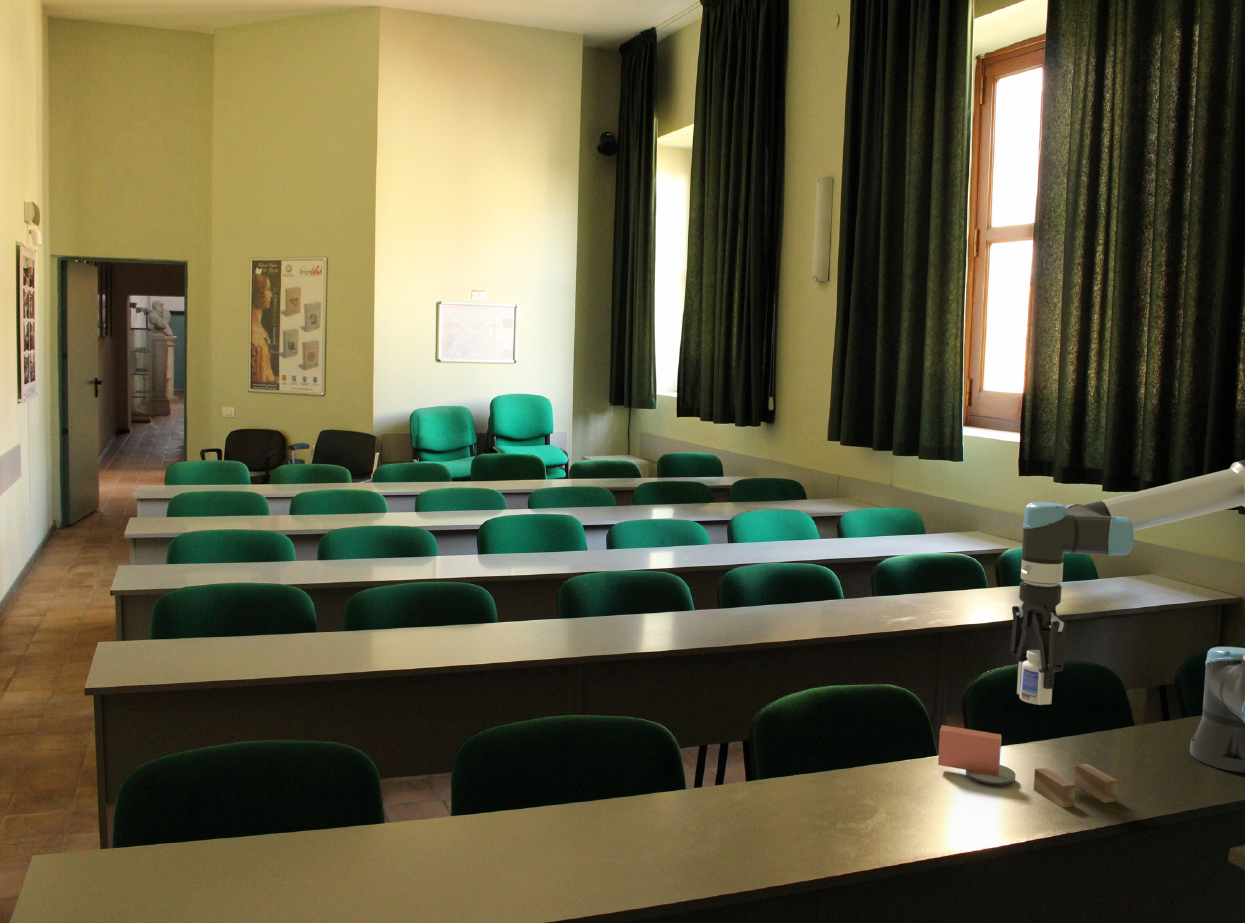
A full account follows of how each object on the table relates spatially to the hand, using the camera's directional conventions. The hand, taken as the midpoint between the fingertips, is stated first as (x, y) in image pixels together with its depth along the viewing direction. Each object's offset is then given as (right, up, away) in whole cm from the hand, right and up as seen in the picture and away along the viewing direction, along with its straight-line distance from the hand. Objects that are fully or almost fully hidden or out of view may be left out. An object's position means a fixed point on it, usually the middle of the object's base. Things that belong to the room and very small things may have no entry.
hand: (1033, 698), depth 202 cm
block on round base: (-12, -14, -3) cm, 19 cm away
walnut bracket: (+3, -15, -11) cm, 19 cm away
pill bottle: (0, -1, 0) cm, 1 cm away
